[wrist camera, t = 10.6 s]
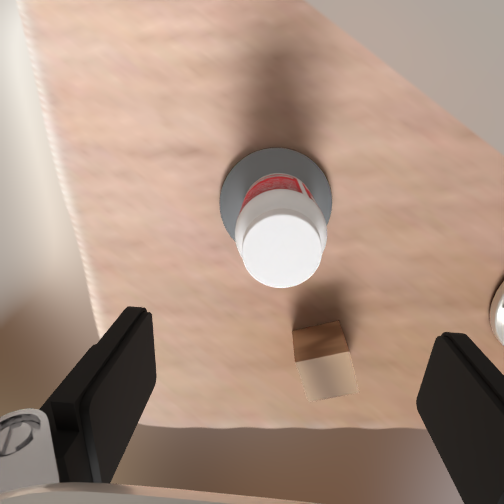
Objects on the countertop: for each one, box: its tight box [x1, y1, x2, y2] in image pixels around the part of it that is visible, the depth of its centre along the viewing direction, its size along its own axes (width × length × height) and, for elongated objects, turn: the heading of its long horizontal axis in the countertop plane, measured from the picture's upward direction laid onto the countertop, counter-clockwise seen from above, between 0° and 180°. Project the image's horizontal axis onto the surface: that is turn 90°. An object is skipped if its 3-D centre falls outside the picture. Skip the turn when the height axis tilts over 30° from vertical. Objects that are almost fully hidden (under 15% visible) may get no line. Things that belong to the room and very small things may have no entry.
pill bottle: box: [235, 173, 327, 288], centre depth 24 cm, size 6×6×11 cm
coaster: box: [220, 148, 332, 242], centre depth 29 cm, size 10×10×1 cm
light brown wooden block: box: [292, 320, 360, 402], centre depth 32 cm, size 5×5×5 cm
